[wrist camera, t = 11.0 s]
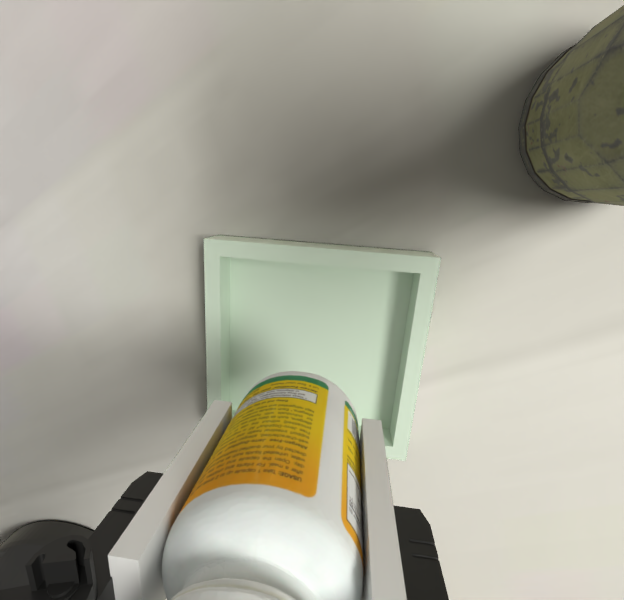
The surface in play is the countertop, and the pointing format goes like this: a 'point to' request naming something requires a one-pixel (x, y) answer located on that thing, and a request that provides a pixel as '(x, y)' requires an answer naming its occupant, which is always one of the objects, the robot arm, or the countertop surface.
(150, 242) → the countertop surface
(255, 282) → the tray
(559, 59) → the thermos
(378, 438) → the robot arm
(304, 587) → the supplement bottle
